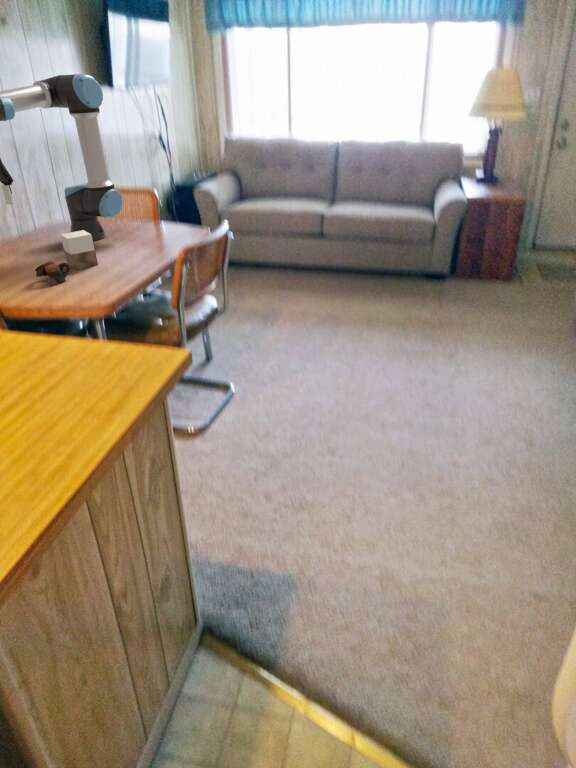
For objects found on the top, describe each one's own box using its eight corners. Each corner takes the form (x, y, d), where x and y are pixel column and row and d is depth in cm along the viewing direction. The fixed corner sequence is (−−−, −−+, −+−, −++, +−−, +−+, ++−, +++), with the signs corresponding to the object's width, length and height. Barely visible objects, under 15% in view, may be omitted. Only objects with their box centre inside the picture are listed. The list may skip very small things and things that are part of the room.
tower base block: (90, 260, 219) (87, 245, 216) (98, 265, 213) (94, 249, 210) (67, 264, 214) (64, 249, 211) (75, 270, 208) (71, 254, 205)
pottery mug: (44, 289, 191) (31, 268, 190) (46, 293, 200) (33, 273, 199) (76, 274, 195) (63, 253, 193) (76, 278, 204) (64, 258, 202)
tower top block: (86, 245, 216) (83, 230, 213) (94, 250, 210) (91, 234, 207) (64, 249, 212) (60, 234, 209) (71, 254, 205) (67, 238, 202)
